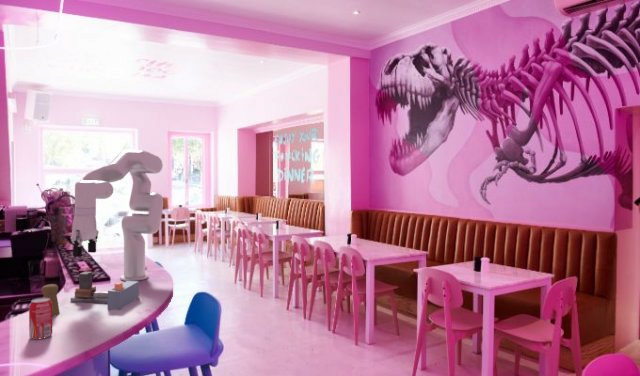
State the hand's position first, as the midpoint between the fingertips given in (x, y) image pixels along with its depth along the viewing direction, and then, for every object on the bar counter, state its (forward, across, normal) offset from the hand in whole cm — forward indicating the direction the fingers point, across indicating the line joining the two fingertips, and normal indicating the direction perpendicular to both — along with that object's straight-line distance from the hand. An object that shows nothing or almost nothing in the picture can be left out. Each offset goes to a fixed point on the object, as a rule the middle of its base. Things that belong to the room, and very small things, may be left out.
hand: (84, 254), depth 178 cm
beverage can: (+20, +37, +9) cm, 43 cm away
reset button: (+16, +5, +17) cm, 24 cm away
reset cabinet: (+19, +1, +17) cm, 25 cm away
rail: (+19, -1, +5) cm, 19 cm away
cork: (+19, +17, -2) cm, 26 cm away
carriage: (+17, -1, 0) cm, 17 cm away
